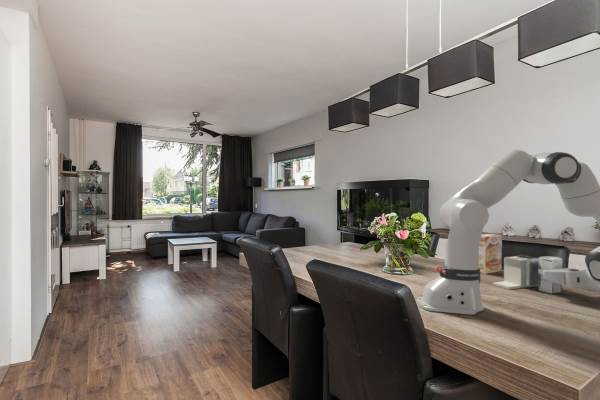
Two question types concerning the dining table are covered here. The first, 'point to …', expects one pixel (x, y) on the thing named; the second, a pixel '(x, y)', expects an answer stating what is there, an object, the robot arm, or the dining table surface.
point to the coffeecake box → (490, 253)
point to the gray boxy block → (531, 270)
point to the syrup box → (549, 264)
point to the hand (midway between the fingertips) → (547, 270)
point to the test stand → (514, 273)
